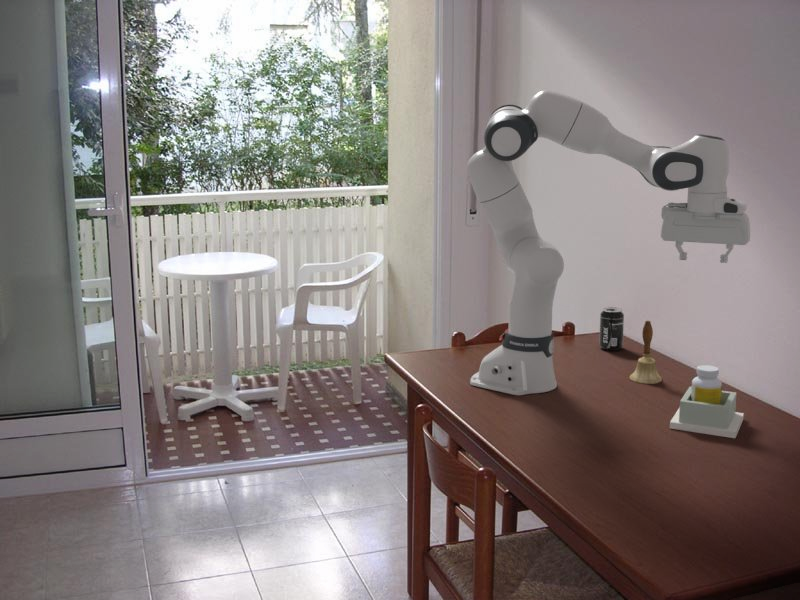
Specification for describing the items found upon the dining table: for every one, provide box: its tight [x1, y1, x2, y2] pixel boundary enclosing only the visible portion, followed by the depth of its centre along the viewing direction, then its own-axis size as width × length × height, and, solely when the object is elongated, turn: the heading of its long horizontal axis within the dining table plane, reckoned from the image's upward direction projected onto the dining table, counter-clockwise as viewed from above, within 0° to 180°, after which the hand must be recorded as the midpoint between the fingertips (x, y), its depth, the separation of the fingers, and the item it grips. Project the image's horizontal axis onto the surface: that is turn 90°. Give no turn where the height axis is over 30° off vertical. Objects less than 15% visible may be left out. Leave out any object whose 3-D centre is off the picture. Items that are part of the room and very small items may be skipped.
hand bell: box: [629, 320, 663, 385], centre depth 231 cm, size 8×8×16 cm
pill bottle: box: [691, 364, 723, 405], centre depth 199 cm, size 6×6×12 cm
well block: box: [669, 386, 745, 439], centre depth 200 cm, size 14×13×6 cm
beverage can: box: [598, 306, 625, 352], centre depth 261 cm, size 7×7×12 cm
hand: (703, 261), depth 212 cm, fingers open, 8 cm apart
